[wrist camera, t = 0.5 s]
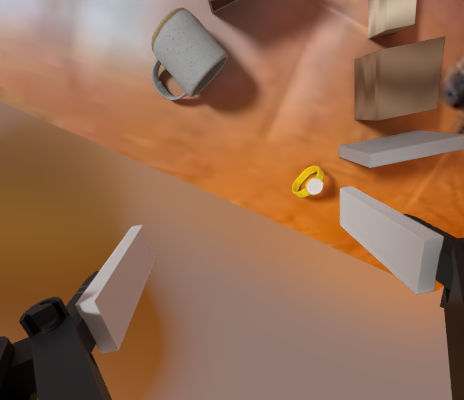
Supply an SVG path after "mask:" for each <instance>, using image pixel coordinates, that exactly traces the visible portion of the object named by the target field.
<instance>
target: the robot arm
mask: <svg viewBox="0 0 464 400" xmlns="http://www.w3.org/2000/svg"><path fill="white" fill-rule="evenodd" d="M340 226H341V227H343V228H344V229H345V230H346V231H347V232H348V233H349V234H350V235H351V236H352V237H354V238H355V239H356V240H357V241H358V242H359V243H360V244H361V245H362V246H364V247H365V248H366V249H367V250H368V251H369V252H370V253H371V254H372V255H373V256H375V257H376V258H377V259H378V260H379V261H380V262H381V263H382V264H383V265H384V266H386V267H387V268H388V269H389V270H390V271H391V272H392V273H393V274H394V275H395V276H397V277H398V278H399V279H400V280H401V281H402V282H403V283H404V284H405V285H406V286H408V287H409V288H410V289H411V290H412V291H413V292H414V293H415V294H422V293H427V292H433V291H434V288H435V282H436V280H437V281H438V282H440V283H441V284H442V285H444V289H443V295H442V299H441V304H440V307H443V308H444V312H445V323H446V333H447V345H448V356H449V367H450V379H451V389H452V400H464V238H458V239H457V238H456V237H454V236H452V235H450V234H448V233H446V232H444V231H442V230H440V229H438V228H436V227H433V225H431V224H429V223H426V222H425V221H423V220H421V219H419V218H417V217H415V216H411V215H408V214H401V213H400V212H398V211H396V210H394V209H392V208H390V207H389V206H387V205H385V204H383V203H381V202H379V201H378V200H376V199H374V198H372V197H370V196H368V195H367V194H365V193H363V192H361V191H359V190H358V189H356V188H354V187H352V186H350V187H344V188H340ZM154 261H155V258H154V255H153V252H152V249H151V246H150V243H149V240H148V237H147V234H146V232H145V229H144V226H143V225H138V226H133V227H131V228H130V230H129V231H128V232H127V234H126V235H125V237H124V238H123V239H122V241H121V242H120V243H119V245H118V246H117V248H116V249H115V251H114V252H113V253H112V255H111V256H110V257H109V259H108V260H107V261H106V263H105V264H104V266H103V267H102V268H101V270H100V271H96V272H95V273H93V274H92V275H91V276H90V277H88V279H87V280H86V281H85V282H84V283H83V285H82V286H81V288H79V290H78V291H77V294H75V295H74V297H73V298H72V299H71V300H70V302H69V303H68V304H67V305H66V307H65V305H64V304H63V302H62V300H61V299H60V298H59V297H52V298H48V299H45V300H43V301H41V302H39V303H37V304H35V305H34V306H32V307H31V308H30V309H28V310H27V311H26V312H25V313H24V314H23V315H22V316H21V318H20V324H21V325H22V327H23V328H24V330H25V331H26V333H27V334H28V336H29V337H28V338H25V339H23V340H20V341H18V342H15V343H13V344H11V342H10V341H9V339H8V338H6V337H0V400H37V399H38V400H112V399H111V396H110V394H109V392H108V389H107V387H106V385H105V382H104V380H103V378H102V375H101V373H100V371H99V368H98V366H97V364H96V362H95V359H94V357H93V355H92V354H91V352H92V350H93V348H94V347H95V344H96V345H97V347H98V349H99V350H100V352H101V353H106V352H111V351H116V350H119V348H120V345H121V342H122V340H123V337H124V335H125V333H126V330H127V328H128V325H129V323H130V320H131V318H132V315H133V313H134V311H135V308H136V306H137V303H138V301H139V298H140V296H141V293H142V290H143V288H144V285H145V283H146V281H147V278H148V276H149V273H150V271H151V268H152V266H153V263H154Z"/></svg>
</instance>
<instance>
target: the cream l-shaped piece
mask: <svg viewBox="0 0 464 400" xmlns="http://www.w3.org/2000/svg"><path fill="white" fill-rule="evenodd" d="M415 13H416V0H369V30H368V39H369V38H374V37H379V36H384V35H389V34H394V33H396V32H398V31H401V30H403V29H405V28H407V27H410V26H412V25H414V24H415Z"/></svg>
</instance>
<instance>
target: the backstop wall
mask: <svg viewBox="0 0 464 400" xmlns="http://www.w3.org/2000/svg"><path fill="white" fill-rule="evenodd" d="M461 149H464V134H455V133H444V132H432V131H420V130H415V131H410V132H405V133H400V134H395V135H390V136H385V137H380V138H375V139H370V140H365V141H360V142H355V143H350V144H345V145H340V146H339V157H341V158H344V159H346V160H349V161H352V162H355V163H358V164H360V165H363V166H366V167H369V168H372V167H377V166H382V165H387V164H392V163H397V162H402V161H407V160H412V159H417V158H422V157H427V156H432V155H436V154H441V153H446V152H451V151H456V150H461Z"/></svg>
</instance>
